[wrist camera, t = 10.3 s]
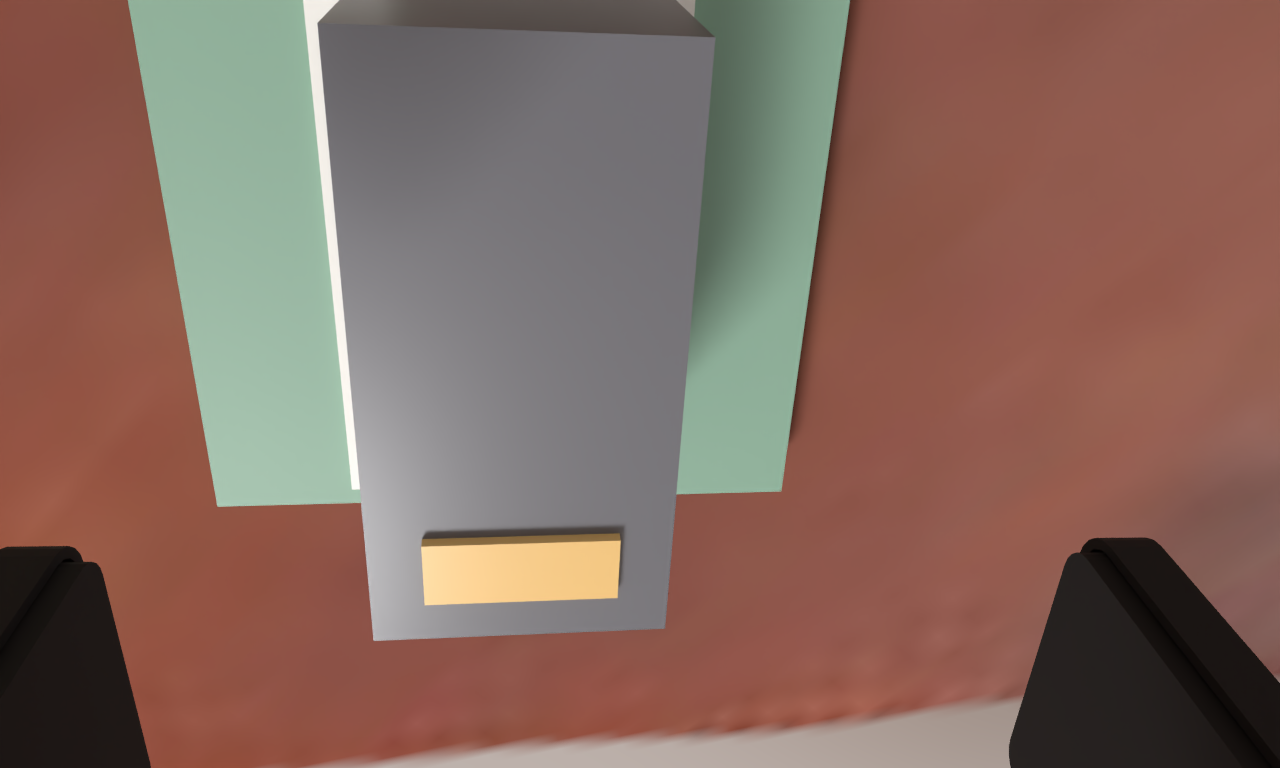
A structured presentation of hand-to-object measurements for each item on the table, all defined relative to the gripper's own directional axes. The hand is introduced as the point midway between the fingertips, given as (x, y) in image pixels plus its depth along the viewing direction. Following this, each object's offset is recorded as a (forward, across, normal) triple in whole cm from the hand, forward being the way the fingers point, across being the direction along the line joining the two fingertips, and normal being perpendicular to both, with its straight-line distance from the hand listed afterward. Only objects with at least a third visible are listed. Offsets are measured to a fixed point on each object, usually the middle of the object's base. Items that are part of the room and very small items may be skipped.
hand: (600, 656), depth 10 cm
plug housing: (+12, +1, 0) cm, 12 cm away
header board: (+13, +1, 0) cm, 13 cm away
